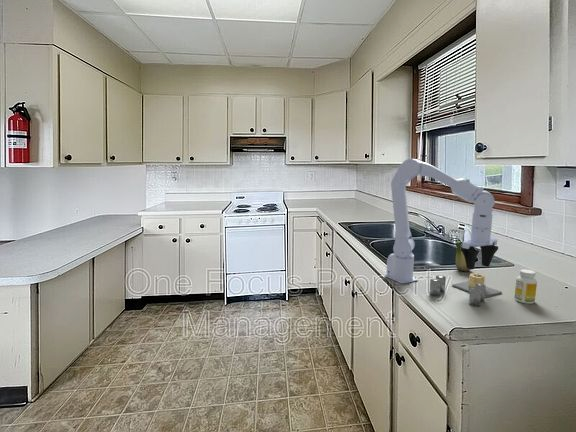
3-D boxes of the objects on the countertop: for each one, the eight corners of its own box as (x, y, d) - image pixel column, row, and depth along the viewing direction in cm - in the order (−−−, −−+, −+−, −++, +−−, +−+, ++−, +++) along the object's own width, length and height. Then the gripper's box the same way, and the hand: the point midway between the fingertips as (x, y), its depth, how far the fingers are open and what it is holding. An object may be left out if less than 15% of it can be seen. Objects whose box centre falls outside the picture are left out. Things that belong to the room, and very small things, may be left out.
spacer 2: (433, 290, 120) (434, 275, 119) (439, 288, 121) (440, 274, 121) (440, 293, 117) (441, 278, 117) (446, 291, 119) (447, 277, 118)
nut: (465, 286, 122) (466, 274, 121) (474, 284, 123) (475, 272, 123) (478, 291, 117) (479, 278, 116) (487, 289, 119) (488, 276, 118)
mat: (452, 286, 124) (452, 284, 124) (469, 282, 128) (469, 280, 127) (483, 297, 113) (483, 296, 113) (501, 293, 117) (502, 291, 117)
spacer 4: (471, 299, 112) (472, 284, 111) (477, 297, 113) (479, 282, 113) (480, 302, 109) (481, 287, 109) (486, 301, 111) (487, 285, 110)
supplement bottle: (512, 300, 111) (515, 271, 109) (516, 296, 115) (519, 267, 113) (533, 305, 107) (536, 275, 106) (536, 300, 111) (539, 271, 109)
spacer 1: (427, 294, 116) (428, 279, 116) (434, 292, 118) (435, 278, 117) (434, 297, 114) (435, 282, 113) (441, 295, 115) (442, 280, 114)
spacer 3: (466, 303, 108) (467, 288, 108) (473, 302, 110) (474, 286, 109) (475, 307, 106) (476, 291, 105) (482, 305, 107) (483, 289, 106)
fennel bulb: (453, 270, 142) (455, 241, 141) (458, 267, 146) (460, 239, 144) (468, 273, 138) (471, 243, 136) (473, 270, 141) (476, 241, 140)
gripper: (477, 231, 110) (473, 273, 113) (507, 228, 117) (503, 267, 119) (458, 227, 117) (454, 267, 119) (487, 224, 123) (484, 262, 125)
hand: (477, 267), depth 119 cm, fingers open, 7 cm apart
